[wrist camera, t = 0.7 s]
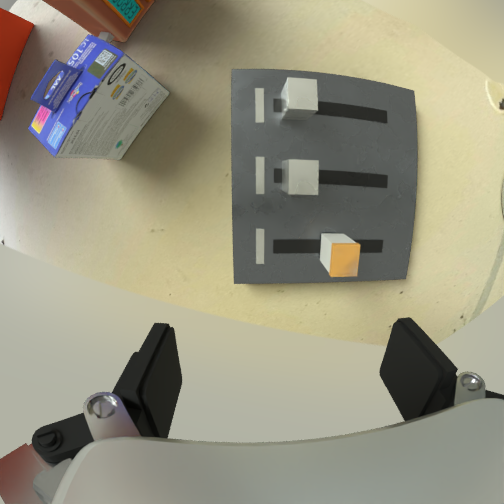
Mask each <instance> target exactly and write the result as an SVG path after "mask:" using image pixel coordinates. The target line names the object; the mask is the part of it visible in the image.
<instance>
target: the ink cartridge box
mask: <svg viewBox="0 0 504 504" xmlns="http://www.w3.org/2000/svg"><path fill="white" fill-rule="evenodd" d="M60 71H61V72H60ZM58 72H60V74H59V75H58V77H57V78H56V80H55V82H54V83H53V85H52V86H51V88H50V90H49V91H48V93H47V95H46V96H45V98H43V96H44V93H45V90H46V87H47V85H48V82H49V81H50V80H51V79H52V78H53V77H54V76H55V75H56V74H57V73H58ZM168 95H169V91H167V90H166V89H165V88H164V87H163V86H162V85H161V84H160V83H159V82H157V81H156V80H155V79H154V78H153V77H152V76H151V75H150V74H149V73H147V72H146V71H145V70H144V69H143V68H142V67H141V66H139V65H138V64H137V63H136V62H135V61H133V60H132V59H131V58H130V57H129V56H127V55H126V54H125V53H124V52H122V51H121V50H119V49H118V48H116V47H115V46H113V45H111V44H109V43H108V42H106V41H104V40H102V39H100V38H98V37H96V36H93V35H89V34H88V36H87V37H86V38H85V39H84V41H83V42H82V43H81V44H80V46H79V47H78V48H77V50H76V51H75V52H74V54H73V55H72V57H71V58H70V59H69V61H68V62H67V63H66V64H65V63H62V62H60V61H58V60H55V61H54V62H53V63H52V65H51V66H50V68H49V69H48V71H47V72H46V74H45V75H44V77H43V79H42V80H41V82H40V83H39V85H38V86H37V88H36V90H35V92H34V93H33V95H32V97H31V99H30V100H32V101H35V102H37V103H39V104H40V107H39V109H38V111H37V113H36V114H35V116H34V118H33V120H32V122H31V124H30V126H29V128H28V129H29V130H30V132H31V133H33V135H34V136H35V137H36V138H37V139H38V140H39V141H40V142H41V143H42V144H43V146H44V147H45V148H46V149H47V150H48V151H49V152H50V153H51V154H52V155H53V156H54V157H55V158H96V159H114V160H120V159H121V158H122V157H123V155H124V154H125V152H126V151H127V149H128V148H129V146H130V145H131V143H132V142H133V141H134V139H135V138H136V136H137V135H138V134H139V132H140V131H141V129H142V128H143V127H144V125H145V124H146V123H147V121H148V120H149V119H150V117H151V116H152V115H153V114H154V112H155V111H156V110H157V109H158V107H159V106H160V105H161V103H162V102H163V101H164V100H165V99H166V97H167V96H168Z"/></svg>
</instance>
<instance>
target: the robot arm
mask: <svg viewBox="0 0 504 504" xmlns="http://www.w3.org/2000/svg"><path fill="white" fill-rule="evenodd" d="M502 209H503V215H504V181H503V187H502ZM457 370H458V369H457V368H456V366H454V364H453V363H452V362H451V361H450V360H449V359H448V357H447V356H446V355H445V354H444V353H443V352H442V351H441V349H440V348H439V347H438V346H437V345H436V344H435V343H434V342H433V341H432V340H431V339H430V338H429V336H428V335H427V334H426V333H425V332H424V331H423V330H422V329H421V328H420V327H419V326H418V325H417V324H416V323H415V322H414V321H413V320H412V319H411V318H409V317H408V318H399V319H398V320H397V321H396V322H395V323H394V324H393V327H392V331H391V335H390V338H389V342H388V345H387V348H386V352H385V355H384V358H383V361H382V364H381V367H380V376H381V378H382V380H383V382H384V384H385V386H386V387H387V389H388V391H389V393H390V395H391V396H392V398H393V400H394V402H395V404H396V406H397V407H398V409H399V411H400V413H401V415H402V417H403V418H404V420H405V422H401V423H397V424H394V425H389V426H385V427H381V428H376V429H371V430H367V431H362V432H357V433H351V434H345V435H339V436H332V437H325V438H317V439H308V440H297V441H283V442H258V443H233V442H206V441H192V440H181V439H168V434H169V430H170V426H171V423H172V419H173V415H174V411H175V407H176V403H177V400H178V396H179V393H180V389H181V385H182V374H181V368H180V363H179V357H178V351H177V345H176V339H175V332H174V328H173V327H170V326H169V324H166V323H165V324H164V323H154V325H153V327H152V328H151V330H150V332H149V334H148V336H147V338H146V339H145V341H144V343H143V345H142V347H141V348H140V350H139V352H135V353H133V355H132V356H131V358H130V360H129V362H128V364H127V365H126V367H125V369H124V371H123V373H122V375H121V377H120V378H119V380H118V382H117V384H116V386H115V388H114V390H113V392H112V393H110V392H100V393H96V394H94V395H91V396H90V397H89V398H87V400H86V401H85V402H84V405H83V412H84V413H81V414H78V415H76V416H73V417H70V418H67V419H64V420H61V421H58V422H55V423H52V424H49V425H46V426H43V427H41V428H40V429H38V430H37V431H35V433H34V435H33V437H32V444H30V445H29V446H28V445H27V444H26V443H25V444H24V445H22V446H20V447H19V448H17V449H16V450H14V451H12V452H11V453H9V454H7V455H6V456H4V457H3V458H1V459H0V495H1V497H2V499H3V501H4V503H5V504H504V395H502V394H498V393H494V392H491V391H487V390H485V383H484V380H483V379H482V378H481V377H480V376H479V375H477V374H476V373H473V372H463V373H461V374H459V376H458V377H457V376H456V372H457Z"/></svg>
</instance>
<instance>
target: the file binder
mask: <svg viewBox="0 0 504 504" xmlns="http://www.w3.org/2000/svg"><path fill="white" fill-rule="evenodd" d="M33 26H34V24H33V23H31V22H29V21H27V20H25V19H23V18H21V17H19V16H17V15H15V14H12V13H10V12H8V11H6V10H4V9H2V8H0V120H1V119H2V114H3V110H4V106H5V102H6V98H7V95H8V91H9V88H10V85H11V81H12V78H13V75H14V72H15V69H16V67H17V64H18V61H19V59H20V56H21V53H22V51H23V48H24V46H25V44H26V41H27V39H28V37H29V35H30V32H31V30H32V28H33Z"/></svg>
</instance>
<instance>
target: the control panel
mask: <svg viewBox="0 0 504 504" xmlns="http://www.w3.org/2000/svg"><path fill="white" fill-rule="evenodd" d="M42 1H44V2H46V3H47V4H49V5H50V6H52V7H53V8H55V9H56V10H58V11H60V12H61V13H62V14H64V15H65V16H67V17H68V18H70V19H71V20H73V21H74V22H76V23H77V24H78V25H80V26H81V27H83V28H84V29H85V30H87V31H88V32H90V33H91V34H92V35H94V36H96V37H98V38H100V39H102V40H104V41H106V42H108V43H110V42H111V41H112V40H114V41H120V42H126V41H127V39H128V38H129V36H130V35H131V33H132V32H133V30H134V29H135V27H136V26H137V24H138V23H139V21H140V20H141V19H142V17H143V16H144V14H145V13H146V12H147V10H148V9H149V8H150V6H151V5H152V4H153V3H154V1H155V0H42Z"/></svg>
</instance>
